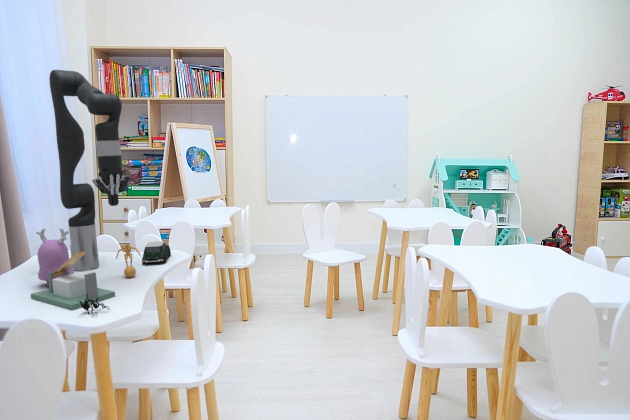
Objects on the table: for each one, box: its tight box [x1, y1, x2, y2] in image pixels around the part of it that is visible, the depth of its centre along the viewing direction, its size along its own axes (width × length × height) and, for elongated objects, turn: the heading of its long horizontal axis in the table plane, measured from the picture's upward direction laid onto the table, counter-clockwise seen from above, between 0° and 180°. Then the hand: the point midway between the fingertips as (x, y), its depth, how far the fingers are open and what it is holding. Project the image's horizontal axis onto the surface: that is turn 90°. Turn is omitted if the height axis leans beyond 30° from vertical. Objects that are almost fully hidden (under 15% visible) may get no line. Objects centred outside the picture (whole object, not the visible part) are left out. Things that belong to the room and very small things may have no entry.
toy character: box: [35, 227, 75, 285], centre depth 162 cm, size 12×10×20 cm
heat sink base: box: [30, 269, 116, 311], centre depth 148 cm, size 23×14×9 cm, turn 58°
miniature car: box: [141, 240, 172, 266], centre depth 194 cm, size 9×18×8 cm, turn 9°
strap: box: [53, 251, 86, 277], centre depth 147 cm, size 17×3×2 cm
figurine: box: [115, 243, 141, 278], centre depth 170 cm, size 8×6×12 cm
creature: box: [79, 294, 111, 317], centre depth 134 cm, size 8×5×8 cm
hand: (113, 205), depth 160 cm, fingers closed
